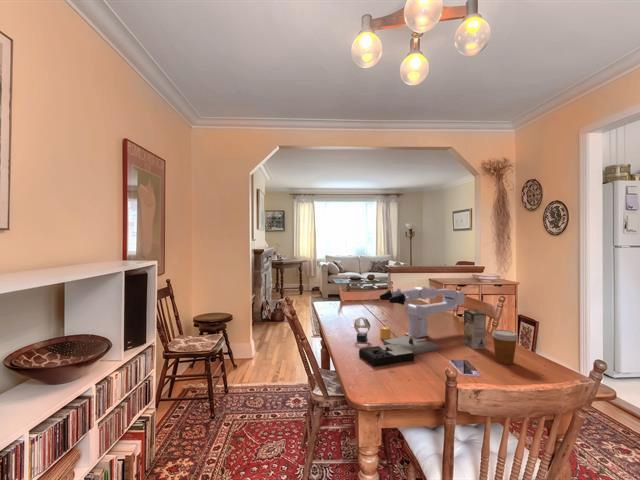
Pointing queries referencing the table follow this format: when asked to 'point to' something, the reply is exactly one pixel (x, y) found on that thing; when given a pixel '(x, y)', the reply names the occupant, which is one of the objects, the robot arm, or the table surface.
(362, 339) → the watch
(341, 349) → the table surface
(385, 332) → the orange cap
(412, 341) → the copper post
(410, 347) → the board
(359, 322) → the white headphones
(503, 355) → the disposable coffee cup
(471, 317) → the coffee box
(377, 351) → the multimeter
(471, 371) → the mobile phone
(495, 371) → the table surface
